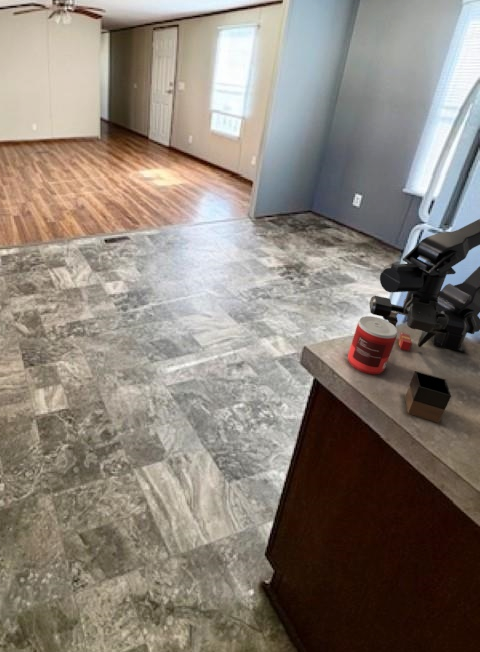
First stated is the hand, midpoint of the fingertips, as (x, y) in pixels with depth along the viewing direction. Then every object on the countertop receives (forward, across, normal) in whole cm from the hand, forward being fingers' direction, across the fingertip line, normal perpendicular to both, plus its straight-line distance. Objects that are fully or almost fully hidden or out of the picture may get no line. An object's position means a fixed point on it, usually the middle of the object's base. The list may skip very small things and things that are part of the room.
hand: (404, 342), depth 107 cm
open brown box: (-2, +1, -24) cm, 24 cm away
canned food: (+1, -9, -13) cm, 16 cm away
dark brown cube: (+1, +1, -24) cm, 24 cm away
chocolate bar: (+1, 0, 0) cm, 1 cm away
